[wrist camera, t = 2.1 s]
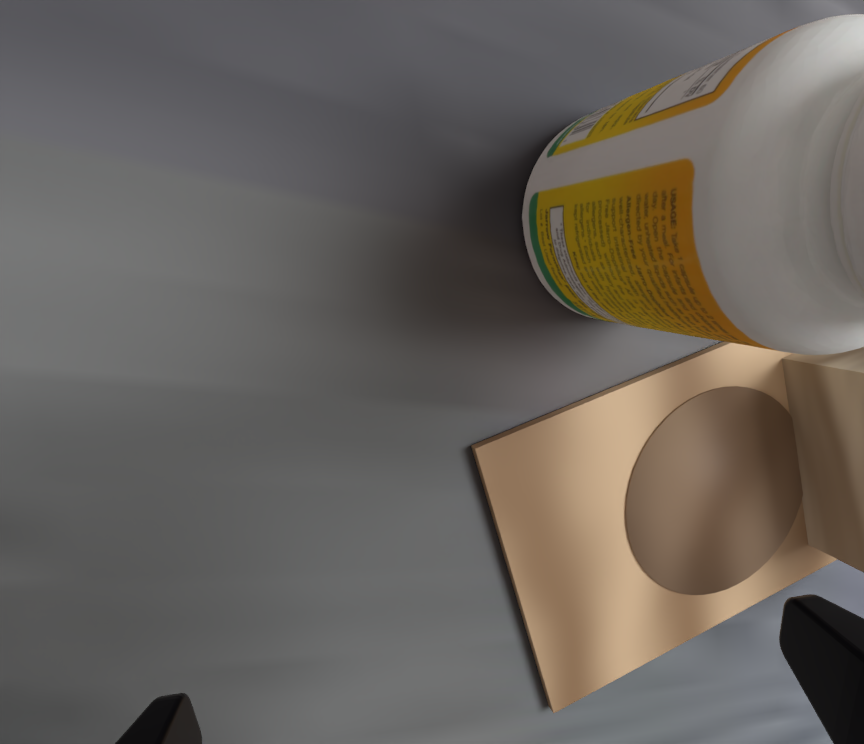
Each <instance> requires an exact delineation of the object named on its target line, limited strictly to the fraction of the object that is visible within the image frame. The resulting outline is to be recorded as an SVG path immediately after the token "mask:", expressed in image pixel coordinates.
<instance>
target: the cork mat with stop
mask: <svg viewBox="0 0 864 744" xmlns="http://www.w3.org/2000/svg"><path fill="white" fill-rule="evenodd" d="M471 447H472V450H473V454H474V457H475V460H476V464H477V467H478V471H479V474H480V477H481V481H482V484H483V487H484V491H485V494H486V497H487V501H488V504H489V507H490V511H491V514H492V517H493V521H494V524H495V527H496V531H497V534H498V537H499V541H500V544H501V548H502V551H503V554H504V558H505V561H506V564H507V568H508V571H509V574H510V578H511V581H512V584H513V588H514V591H515V594H516V598H517V601H518V604H519V608H520V611H521V614H522V618H523V621H524V625H525V628H526V631H527V635H528V638H529V641H530V645H531V648H532V651H533V655H534V658H535V661H536V665H537V668H538V671H539V675H540V678H541V681H542V685H543V688H544V691H545V695H546V698H547V702H548V705H549V707H550V709H551V710H552V712H553V713H555V712H557V711H559V710H561V709H563V708H564V707H566V706H568V705H570V704H572V703H574V702H575V701H577V700H579V699H581V698H583V697H585V696H586V695H588V694H590V693H592V692H594V691H596V690H598V689H599V688H601V687H603V686H605V685H607V684H609V683H610V682H612V681H614V680H616V679H618V678H620V677H621V676H623V675H625V674H627V673H629V672H631V671H633V670H634V669H636V668H638V667H640V666H642V665H644V664H645V663H647V662H649V661H651V660H653V659H655V658H656V657H658V656H660V655H662V654H664V653H666V652H668V651H669V650H671V649H673V648H675V647H677V646H679V645H680V644H682V643H684V642H686V641H688V640H690V639H691V638H693V637H695V636H697V635H699V634H701V633H703V632H704V631H706V630H708V629H710V628H712V627H714V626H715V625H717V624H719V623H721V622H723V621H725V620H726V619H728V618H730V617H732V616H734V615H736V614H738V613H739V612H741V611H743V610H745V609H747V608H749V607H750V606H752V605H754V604H756V603H758V602H760V601H761V600H763V599H765V598H767V597H769V596H771V595H773V594H774V593H776V592H778V591H780V590H782V589H784V588H785V587H787V586H789V585H791V584H793V583H795V582H796V581H798V580H800V579H802V578H804V577H806V576H808V575H809V574H811V573H813V572H815V571H817V570H819V569H820V568H822V567H824V566H826V565H828V564H830V563H831V562H833V561H835V560H837V559H838V560H840V561H842V562H844V563H846V564H848V565H850V566H852V567H854V568H856V569H858V570H860V571H862V572H864V347H862V348H859V349H855V350H851V351H847V352H843V353H836V354H827V355H802V354H795V353H788V352H781V351H776V350H770V349H764V348H759V347H753V346H748V345H742V344H736V343H730V342H725V341H724V342H721V343H719V344H716V345H714V346H711V347H709V348H707V349H704V350H702V351H699V352H697V353H694V354H692V355H690V356H687V357H685V358H682V359H680V360H677V361H675V362H673V363H670V364H668V365H665V366H663V367H660V368H658V369H656V370H653V371H651V372H648V373H646V374H643V375H641V376H639V377H636V378H634V379H631V380H629V381H626V382H624V383H622V384H619V385H617V386H614V387H612V388H609V389H607V390H605V391H602V392H600V393H597V394H595V395H593V396H590V397H588V398H585V399H583V400H580V401H578V402H576V403H573V404H571V405H568V406H566V407H563V408H561V409H559V410H556V411H554V412H551V413H549V414H546V415H544V416H542V417H539V418H537V419H534V420H532V421H529V422H527V423H525V424H522V425H520V426H517V427H515V428H512V429H510V430H508V431H505V432H503V433H500V434H498V435H495V436H493V437H491V438H488V439H486V440H483V441H481V442H478V443H476V444H474V445H471Z"/></svg>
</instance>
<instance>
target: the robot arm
mask: <svg viewBox="0 0 864 744" xmlns="http://www.w3.org/2000/svg"><path fill="white" fill-rule="evenodd" d="M779 640H780V647H781V650H782V652H783V655H784V657H785V659H786V660H787V662H788V664H789V666H790V667H791V669H792V671H793V673H794V675H795V676H796V678H797V680H798V682H799V683H800V685H801V687H802V689H803V690H804V692H805V694H806V696H807V697H808V699H809V701H810V703H811V705H812V706H813V708H814V710H815V712H816V713H817V715H818V717H819V719H820V720H821V722H822V724H823V726H824V727H825V729H826V731H827V733H828V734H829V736H830V738H831V740H832V741H833V743H834V744H864V619H863V618H861V617H859V616H857V615H855V614H853V613H851V612H849V611H847V610H845V609H844V608H842V607H840V606H838V605H836V604H834V603H832V602H830V601H828V600H826V599H824V598H822V597H819V596H817V595H811V594H810V595H803V596H797V597H791V598H788V599H787V600H786V602H785V604H784V609H783V616H782V623H781V629H780V636H779ZM115 744H202V736H201V731H200V728H199V725H198V722H197V719H196V716H195V713H194V710H193V707H192V704H191V701H190V699H189V697H188V696H187V695H186V694H185V693H179V694H173V695H166V696H161V697H158V698H156V699H155V700H154V701H153V702H152V703H151V704H150V705H149V706H148V707H147V708H146V709H145V710H144V712H143V713H142V714H141V715H140V716H139V717H138V718H137V720H136V721H135V722H134V723H133V724H132V725H131V726H130V727H129V729H128V730H127V731H126V732H125V733H124V734H123V735H122V737H121V738H120V739H119V740H118V741H117V742H116V743H115Z"/></svg>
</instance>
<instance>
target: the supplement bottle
mask: <svg viewBox="0 0 864 744" xmlns="http://www.w3.org/2000/svg"><path fill="white" fill-rule="evenodd" d="M522 222H523V232H524V237H525V244H526V247H527V251H528V254H529V257H530V260H531V263H532V266H533V268H534V270H535V272H536V274H537V276H538V278H539V280H540V281H541V283H542V284H543V285H544V287H545V288H546V289H547V291H548V292H549V293H550V294H551V295H552V296H553V297H554V298H555V299H556V300H558V301H559V302H560V303H561V304H563V305H564V306H566V307H567V308H569V309H570V310H572V311H574V312H576V313H579V314H581V315H584V316H586V317H589V318H594V319H599V320H603V321H608V322H615V323H621V324H625V325H630V326H636V327H642V328H649V329H655V330H660V331H666V332H672V333H678V334H683V335H689V336H695V337H701V338H707V339H713V340H719V341H725V342H730V343H736V344H742V345H748V346H753V347H759V348H764V349H770V350H776V351H781V352H788V353H795V354H802V355H827V354H836V353H843V352H847V351H851V350H855V349H859V348H862V347H864V14H854V15H841V16H835V17H830V18H826V19H822V20H818V21H814V22H811V23H808V24H805V25H802V26H799V27H796V28H794V29H791V30H789V31H786V32H784V33H781V34H779V35H777V36H774V37H772V38H769V39H767V40H764V41H762V42H759V43H757V44H755V45H753V46H750V47H748V48H746V49H743V50H740V51H738V52H736V53H734V54H731V55H729V56H727V57H724V58H722V59H720V60H717V61H714V62H712V63H709V64H707V65H705V66H703V67H700V68H698V69H695V70H692V71H690V72H688V73H685V74H683V75H680V76H678V77H676V78H673V79H671V80H668V81H666V82H664V83H661V84H659V85H656V86H654V87H652V88H650V89H647V90H645V91H642V92H640V93H637V94H635V95H633V96H630V97H628V98H625V99H623V100H621V101H619V102H616V103H614V104H612V105H609V106H607V107H604V108H602V109H599V110H597V111H595V112H593V113H591V114H589V115H587V116H584V117H582V118H580V119H578V120H577V121H575V122H573V123H572V124H570V125H569V126H567V127H566V128H565V129H564V130H562V131H561V132H560V133H559V134H558V135H557V136H556V137H555V138H554V139H553V140H552V141H551V142H550V143H549V144H548V146H547V147H546V148H545V150H544V151H543V153H542V154H541V156H540V157H539V159H538V161H537V162H536V164H535V166H534V168H533V170H532V173H531V175H530V178H529V180H528V183H527V187H526V191H525V196H524V203H523V211H522Z"/></svg>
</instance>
